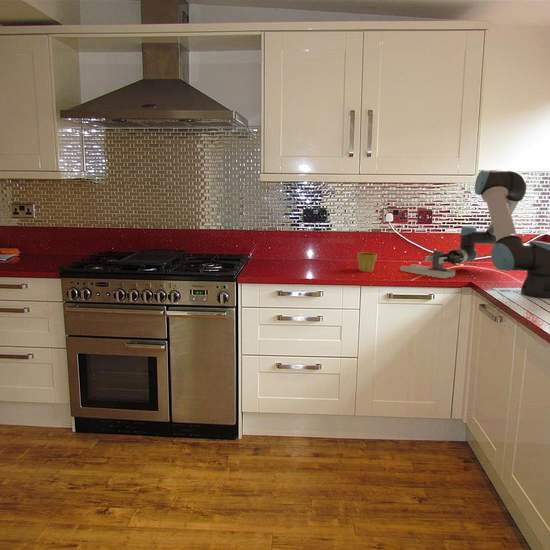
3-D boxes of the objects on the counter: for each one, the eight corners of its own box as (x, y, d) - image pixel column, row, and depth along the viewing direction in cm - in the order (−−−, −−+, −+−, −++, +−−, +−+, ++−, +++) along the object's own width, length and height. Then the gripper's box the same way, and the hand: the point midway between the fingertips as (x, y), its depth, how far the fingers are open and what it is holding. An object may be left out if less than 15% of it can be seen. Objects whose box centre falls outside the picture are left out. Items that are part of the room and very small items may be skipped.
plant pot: (378, 271, 273) (379, 253, 271) (371, 274, 264) (373, 255, 262) (360, 269, 278) (361, 251, 276) (353, 272, 269) (354, 253, 267)
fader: (446, 271, 261) (447, 251, 259) (438, 272, 256) (440, 251, 255) (435, 269, 265) (437, 249, 264) (428, 271, 261) (429, 250, 259)
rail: (454, 276, 259) (455, 270, 259) (444, 278, 253) (444, 272, 252) (411, 270, 279) (411, 264, 278) (400, 271, 272) (400, 265, 272)
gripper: (474, 265, 264) (450, 269, 250) (439, 261, 279) (415, 265, 265) (475, 251, 263) (451, 254, 248) (440, 247, 278) (416, 250, 263)
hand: (432, 260), depth 257 cm, fingers open, 7 cm apart
